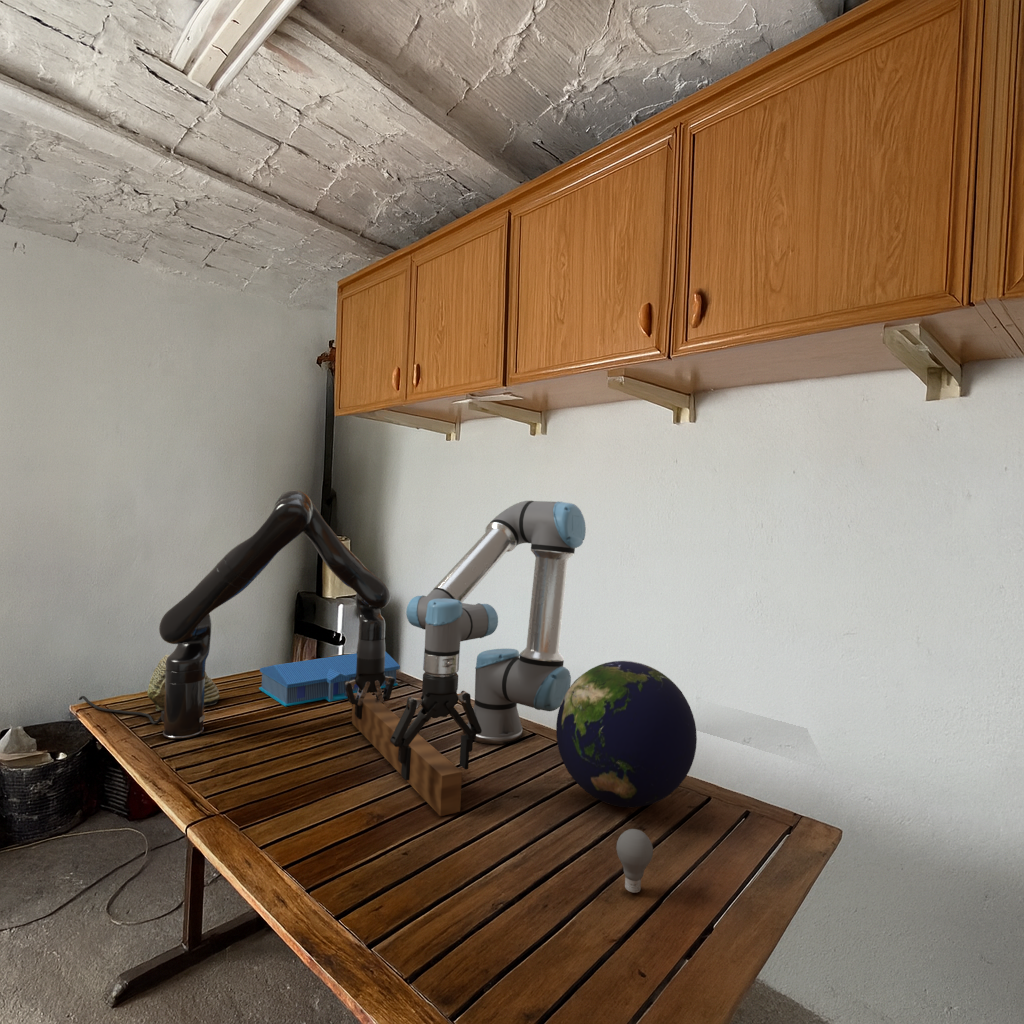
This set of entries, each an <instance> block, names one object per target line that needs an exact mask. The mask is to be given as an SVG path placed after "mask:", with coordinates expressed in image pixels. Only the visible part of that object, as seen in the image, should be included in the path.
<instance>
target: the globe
mask: <svg viewBox="0 0 1024 1024" xmlns="http://www.w3.org/2000/svg"><path fill="white" fill-rule="evenodd" d="M555 727H556V728H555V729H556V731H555V733H556V735H555V736H556V743H557V749H558V752H559V755H560V758H561V760H562V763H563V765H564V767H565V769H566V770H567V772H568V773H569V775H570V776H571V778H572V779H573V780H574V781H575V783H576V784H577V785H578V786H579V787H580V788H581V789H582V790H583V791H585V792H586V793H587V794H588V795H590V796H591V797H593V798H595V799H596V800H598V801H600V802H603V803H604V804H607V805H611V806H615V807H620V808H629V809H630V808H642V807H646V806H647V807H648V806H650V805H653V804H655V803H658V802H661V801H662V800H664V799H665V798H667V797H668V796H670V795H671V794H672V793H673V792H674V791H676V790H677V789H678V788H679V787H680V786H681V784H682V783H683V782H684V780H685V779H686V777H687V776H688V774H689V773H690V770H691V768H692V765H693V763H694V760H695V755H696V751H697V742H698V741H697V740H698V738H697V736H698V735H697V725H696V720H695V717H694V714H693V711H692V708H691V706H690V704H689V702H688V700H687V697H686V696H685V695H684V693H683V691H681V689H680V687H678V685H676V683H675V682H674V681H673V680H672V679H670V678H669V677H668V676H667V675H666V674H664V673H663V672H661V671H659V670H658V669H656V668H655V667H651V666H649V665H646V664H644V663H640V662H636V661H632V660H615V661H608V662H605V663H601V664H598V665H596V666H594V667H592V668H590V669H588V670H586V671H584V673H582V674H581V675H579V676H578V677H577V678H576V679H575V680H574V681H573V683H571V684H570V688H569V689H568V691H567V692H566V694H565V696H564V698H563V700H562V702H561V705H560V707H559V708H558V713H557V717H556V726H555Z"/></svg>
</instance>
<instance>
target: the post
mask: <svg viewBox="0 0 1024 1024" xmlns="http://www.w3.org/2000/svg"><path fill="white" fill-rule="evenodd" d="M353 694H354V698H355V699H356V696H357V693H353ZM351 707H352V708H351V724H352V725H353V726H354V727H355V728H356V729H357V730H358V731H359V733H361V734H362V736H364V738H365V739H366V740H367V741H368V743H370V745H372V746H373V747H374V748H375V749H376V750H377V752H379V753H380V754H381V756H383V758H384V759H385V760H386V761H387V762H388V763H389V764H390V766H392V767H393V769H395V770H396V772H398V773H399V774H400V775H401V768H402V764H401V763H400V762H399V760H398V751H399V747H395V746H394V745H393V744H392V743H391V742H390V739H391V737H392V735H393V733H394V731H395V729H396V727H397V725H398V723H399V721H400V719H401V717H399V716H398V715H397V714H395V713H394V712H393V711H392V710H391V709H390V708H388V707H387V706H386V705H385V704H384V702H383V703H381V702H380V701H379V700H378V699H377V698H376V696H374V695H373V694H372V692H369V693H366V696H365V698H364V699H363V702H362V719H358V718H357V717H356V716H355V704H351ZM409 726H410V725H409ZM409 726H408V728H409ZM408 728H407V729H408ZM408 746H409V747H410V748H411V761H410V778H409V780H405V781H406V782H407V783H408V784H409V785H410V786H411V787H412V788H413V790H415V791H416V792H417V794H418V795H419V796H420V797H421V799H423V800H424V801H425V802H426V803H427V804H428V806H430V808H432V810H434V812H435V813H436V814H437V815H438V816H439V817H444V816H447V815H452V814H457V813H461V802H462V779H463V776H462V775H463V771H462V770H461V769H460V768H459V767H458V766H456V765H455V764H454V763H453V762H451V761H450V760H449V759H448V758H447V757H446V756H445V755H444V754H442V753H441V752H440V751H439V750H437V748H435V747H434V746H433V745H432V744H430V743H429V742H428V741H427V740H426V739H425V738H424V737H422V735H421V734H419V733H418V734H417V735H416V736H415V738H414V739H413V740H412V742H411V743H410V744H409V745H408Z"/></svg>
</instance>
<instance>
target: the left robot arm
mask: <svg viewBox="0 0 1024 1024" xmlns="http://www.w3.org/2000/svg"><path fill="white" fill-rule="evenodd" d="M302 533H303V534H304V536H306V537H307V539H308V540H309V541H310V543H312V545H313V546H314V548H315V549H316V551H317V552H318V554H319V556H320V557H321V559H322V561H323V562H324V563H325V565H326V566H327V568H328V569H329V570H330V571H331V572H332V573H333V574H334V575H335V576H336V577H337V579H338V580H340V581H341V583H343V584H344V585H346V586H347V587H348V588H350V589H352V590H353V591H354V592H355V593H356V594H355V605H356V613H357V618H358V637H357V638H358V639H357V640H358V641H357V646H356V653H357V666H356V677H355V678H354V680H352V681H349V682H348V681H345V683H344V685H345V689H346V693H347V697H348V698H347V701H348V702H349V703H350V704H351V705H352V704H355V716H356V717H357V718H358V719H362V702H363V699H364V698H365V696H366V693H369V692H370V693H374V695H375V697H376V698H377V699H378V700H379V701H380V702H381V703H383V704H384V702H385V701H389V700H390V699H391V695H392V692H393V689H394V687H395V686H394V682H395V679H394V678H393V677H391V676H389V677H387V676H385V674H384V670H385V651H386V639H385V638H386V621H385V620H386V619H385V618H384V617H383V616H382V613H381V610H382V609H383V608H385V607H387V605H388V604H389V603H390V601H391V591H390V589H389V587H388V586H387V585H386V584H385V582H383V580H382V579H380V578H379V577H378V576H377V575H375V574H374V573H373V572H372V571H370V570H369V569H368V568H367V567H366V566H365V565H364V564H363V562H362V561H361V560H360V559H359V558H358V556H356V555H355V554H354V553H353V552H352V551H351V550H350V548H348V547H347V546H346V544H345V543H344V542H343V541H342V540H341V539H340V538H339V537H338V535H337V534H336V533H335V532H334V531H333V529H332V528H331V527H330V526H329V524H328V523H327V522H326V521H325V519H324V517H323V516H322V515H321V513H320V512H319V510H318V509H317V507H316V506H315V504H314V502H313V501H312V500H311V498H310V497H309V496H308V495H307V494H306V493H305V492H303V491H301V490H298V489H288V490H285V491H283V492H281V493H280V495H279V496H278V497H277V498H276V501H275V503H274V505H273V508H272V510H271V513H270V514H269V516H268V517H267V518H266V520H265V521H264V522H263V524H262V525H261V526H260V527H259V529H257V531H256V532H255V533H254V534H253V535H250V537H248V538H247V539H245V540H244V541H241V542H240V543H238V544H237V545H235V546H234V547H233V548H231V549H230V550H229V551H228V552H227V553H226V554H225V555H224V556H223V557H222V558H221V559H220V560H219V561H218V562H217V563H216V564H215V566H214V567H213V568H212V569H211V570H210V571H209V572H208V573H207V574H206V575H205V576H204V577H203V578H202V579H201V580H200V581H199V582H198V583H197V585H196V586H195V587H194V588H193V589H192V590H191V591H190V592H189V593H188V594H186V595H185V597H183V598H182V599H181V600H179V601H178V602H177V603H176V604H175V605H173V606H172V607H170V608H169V610H168V611H166V612H165V613H164V614H163V616H162V617H161V620H160V622H159V625H158V626H159V627H158V631H159V636H160V638H161V639H162V641H164V642H166V643H167V644H171V645H176V647H175V649H174V650H173V651H172V652H171V653H170V654H168V655H169V656H168V658H167V660H166V674H165V705H164V710H162V711H160V716H159V718H158V719H157V720H156V721H154V719H153V717H152V716H151V714H150V713H149V714H148V713H146V712H138V711H129V710H119V709H111V708H105V707H102V706H101V707H100V706H98V705H96V704H95V703H94V702H92V701H90V700H89V699H88V698H87V697H86V696H85V695H81V696H80V697H78V701H82V700H84V702H85V703H86V704H88V705H89V706H91V707H92V708H94V709H97V710H98V711H102V712H108V713H114V714H123V715H135V716H143V717H145V718H146V717H147V718H148V719H149V722H150V723H151V724H152V725H158V724H159V723H160V722H161V721H162V723H163V731H162V737H164V738H166V739H169V740H185V739H190V738H191V739H192V738H194V737H197V736H199V735H202V734H203V732H204V730H205V729H204V722H205V720H206V719H205V718H206V714H205V706H204V693H205V672H206V664H207V663H206V662H207V658H208V656H209V654H210V649H211V639H212V617H211V613H212V612H213V611H215V610H216V609H217V608H219V607H220V606H222V605H224V604H226V603H227V602H228V601H230V600H232V599H234V598H235V597H236V596H238V595H239V594H241V593H242V592H243V591H244V590H246V588H247V587H249V585H250V584H251V583H253V581H254V580H255V579H256V578H257V577H258V576H259V575H260V574H261V573H262V572H263V570H264V569H266V567H267V566H268V565H269V564H270V563H271V562H272V560H273V559H274V558H275V557H276V555H277V554H278V553H280V551H282V550H283V549H284V548H285V547H286V546H288V545H289V544H290V543H291V542H293V540H295V539H296V538H298V537H299V536H300V535H301V534H302ZM384 681H385V684H386V686H385V688H383V690H384V691H382V688H381V685H382V684H383V682H384ZM355 684H356V685H357V686H358V687H359V688H358V691H357V696H356V699H355V698H354V694H353V690H352V689H354V685H355Z"/></svg>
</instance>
